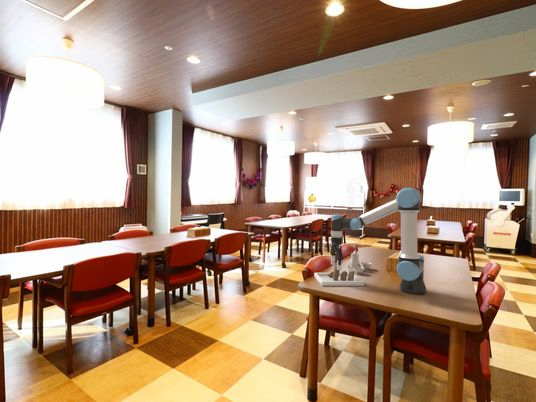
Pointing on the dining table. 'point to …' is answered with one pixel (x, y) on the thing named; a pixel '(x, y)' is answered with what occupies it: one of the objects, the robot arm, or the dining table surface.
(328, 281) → the pocket tray
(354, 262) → the chinaware
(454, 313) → the dining table surface
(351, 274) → the wooden block set
